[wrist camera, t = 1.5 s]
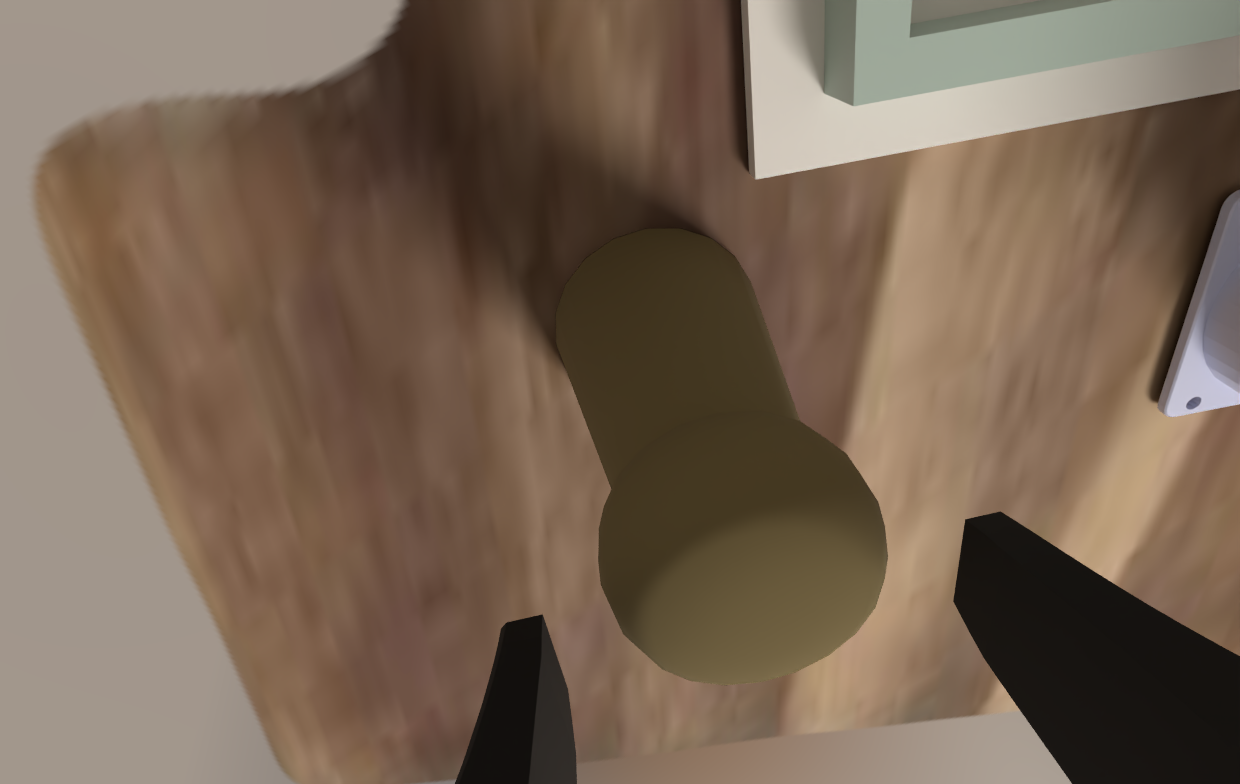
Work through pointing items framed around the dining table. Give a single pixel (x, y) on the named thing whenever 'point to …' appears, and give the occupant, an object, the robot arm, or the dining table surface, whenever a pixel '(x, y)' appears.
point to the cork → (711, 469)
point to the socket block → (964, 69)
